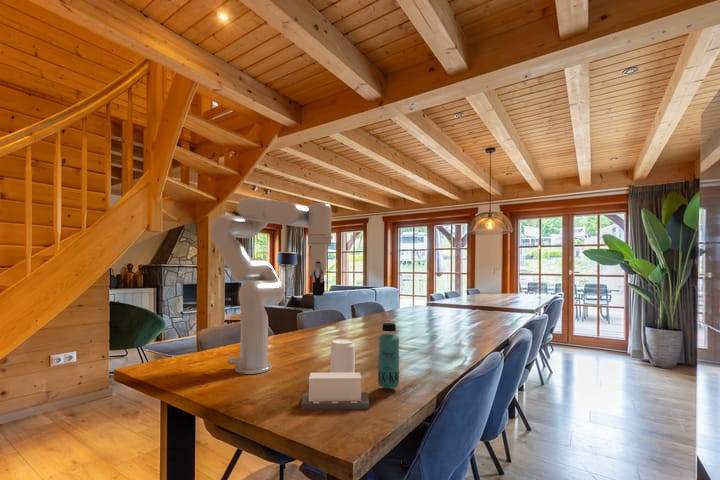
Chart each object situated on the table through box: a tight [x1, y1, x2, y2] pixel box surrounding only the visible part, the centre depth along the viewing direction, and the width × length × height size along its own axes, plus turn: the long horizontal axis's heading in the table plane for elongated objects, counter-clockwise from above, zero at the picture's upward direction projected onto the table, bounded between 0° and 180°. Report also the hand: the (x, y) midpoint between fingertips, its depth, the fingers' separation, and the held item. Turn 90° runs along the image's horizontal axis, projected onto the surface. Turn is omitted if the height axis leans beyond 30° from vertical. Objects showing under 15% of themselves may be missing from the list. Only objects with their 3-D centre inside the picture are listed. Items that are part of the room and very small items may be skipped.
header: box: [300, 391, 370, 411], centre depth 97 cm, size 18×8×6 cm, turn 93°
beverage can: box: [330, 338, 356, 373], centre depth 119 cm, size 8×8×12 cm
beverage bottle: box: [377, 322, 400, 389], centre depth 108 cm, size 6×7×20 cm
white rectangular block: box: [308, 371, 362, 402], centre depth 97 cm, size 14×5×6 cm, turn 93°
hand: (318, 294), depth 114 cm, fingers open, 9 cm apart
